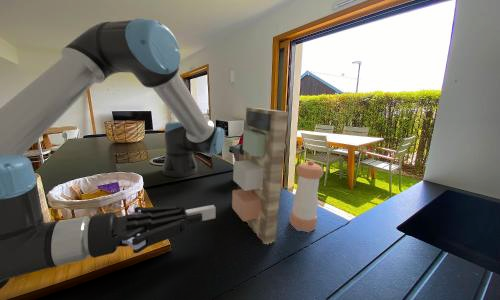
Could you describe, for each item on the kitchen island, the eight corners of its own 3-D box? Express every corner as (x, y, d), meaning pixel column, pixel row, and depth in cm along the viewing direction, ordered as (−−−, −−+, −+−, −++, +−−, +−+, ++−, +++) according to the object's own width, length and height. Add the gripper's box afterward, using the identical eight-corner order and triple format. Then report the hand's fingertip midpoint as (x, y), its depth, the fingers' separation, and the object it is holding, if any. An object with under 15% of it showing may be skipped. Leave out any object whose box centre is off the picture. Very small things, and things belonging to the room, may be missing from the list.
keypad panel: (238, 215, 61) (244, 107, 53) (249, 213, 63) (256, 107, 55) (262, 245, 49) (274, 111, 41) (275, 241, 51) (288, 111, 43)
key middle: (233, 179, 53) (233, 161, 52) (250, 177, 55) (251, 159, 54) (244, 190, 47) (245, 170, 46) (263, 187, 49) (264, 168, 48)
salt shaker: (314, 235, 54) (325, 167, 50) (287, 228, 56) (295, 162, 52) (316, 221, 61) (325, 159, 56) (291, 215, 63) (298, 155, 59)
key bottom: (232, 207, 55) (232, 190, 54) (248, 204, 57) (249, 187, 56) (243, 221, 49) (244, 202, 48) (261, 217, 51) (262, 198, 50)
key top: (242, 149, 52) (243, 130, 51) (259, 148, 55) (260, 129, 53) (255, 156, 46) (257, 135, 45) (274, 155, 49) (275, 134, 47)
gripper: (99, 233, 44) (206, 211, 55) (85, 281, 33) (223, 242, 44) (95, 201, 42) (207, 185, 53) (78, 241, 31) (224, 210, 42)
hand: (214, 211), depth 48 cm, fingers closed
